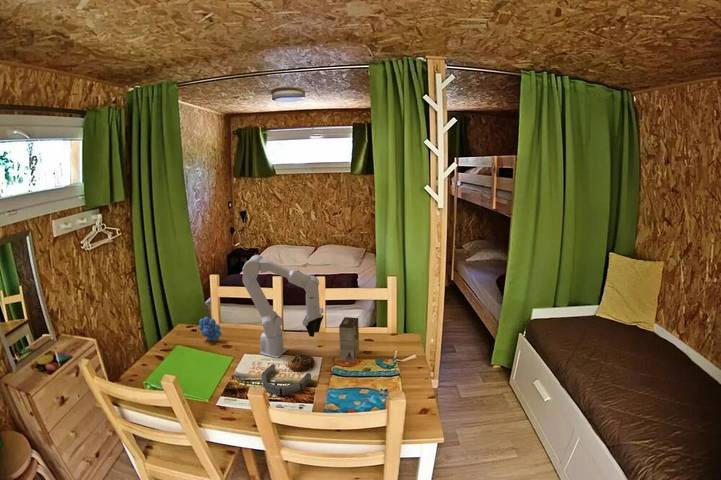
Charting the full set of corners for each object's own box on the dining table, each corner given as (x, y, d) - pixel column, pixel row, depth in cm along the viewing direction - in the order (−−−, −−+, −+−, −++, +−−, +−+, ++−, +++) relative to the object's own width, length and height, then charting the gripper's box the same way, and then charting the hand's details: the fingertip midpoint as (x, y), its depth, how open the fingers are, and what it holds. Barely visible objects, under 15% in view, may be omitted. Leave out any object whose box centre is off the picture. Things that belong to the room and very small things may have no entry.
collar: (252, 387, 129) (251, 381, 129) (272, 369, 140) (272, 364, 140) (293, 399, 123) (293, 392, 122) (311, 379, 134) (310, 373, 133)
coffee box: (345, 349, 155) (344, 316, 151) (359, 351, 153) (358, 317, 150) (339, 361, 146) (338, 325, 143) (354, 362, 145) (354, 327, 141)
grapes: (194, 343, 162) (191, 320, 160) (203, 336, 169) (201, 313, 166) (216, 346, 160) (213, 322, 157) (225, 339, 166) (222, 315, 163)
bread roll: (310, 373, 138) (308, 361, 137) (284, 374, 140) (282, 363, 139) (318, 359, 148) (316, 348, 148) (294, 360, 151) (292, 349, 150)
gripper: (312, 312, 141) (313, 343, 144) (328, 299, 154) (330, 328, 157) (297, 310, 144) (299, 340, 147) (315, 297, 157) (316, 325, 160)
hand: (314, 333), depth 152 cm, fingers open, 4 cm apart
